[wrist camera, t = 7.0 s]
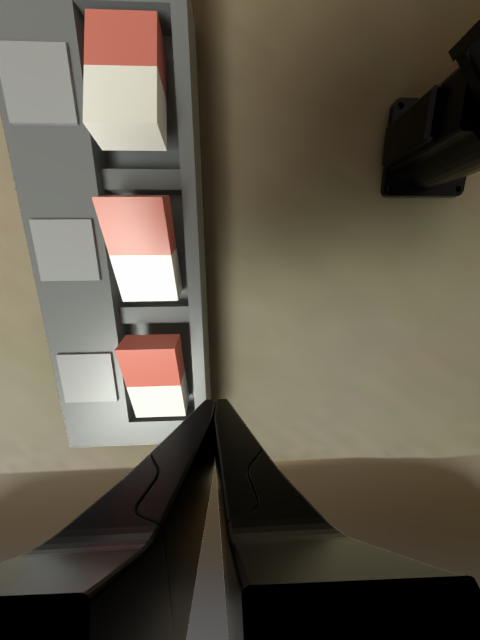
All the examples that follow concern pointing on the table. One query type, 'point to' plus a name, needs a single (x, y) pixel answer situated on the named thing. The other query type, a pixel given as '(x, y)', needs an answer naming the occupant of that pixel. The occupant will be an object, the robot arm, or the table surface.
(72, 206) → the power board
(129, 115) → the rocker
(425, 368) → the table surface
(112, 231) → the block
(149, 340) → the rocker
